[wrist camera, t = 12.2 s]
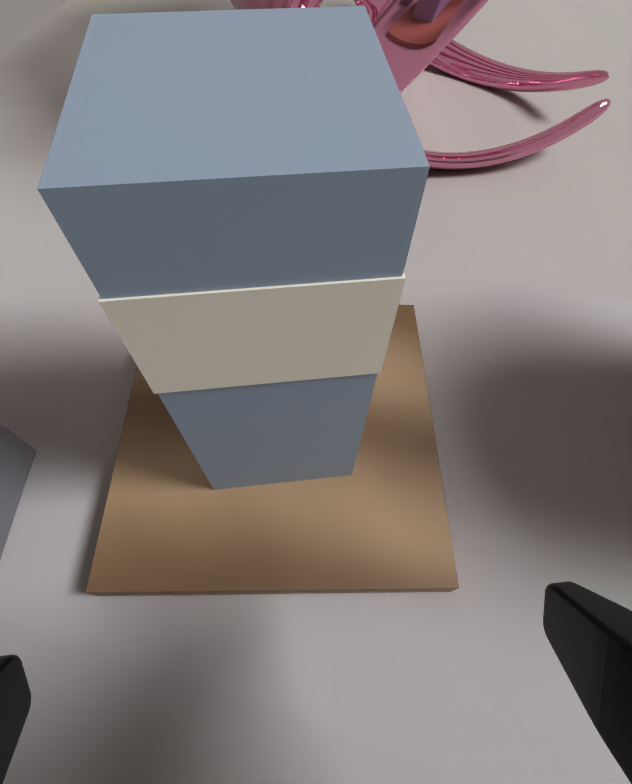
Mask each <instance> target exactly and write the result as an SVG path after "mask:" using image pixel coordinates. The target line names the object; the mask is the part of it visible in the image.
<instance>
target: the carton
mask: <svg viewBox="0 0 632 784" xmlns="http://www.w3.org/2000/svg"><path fill="white" fill-rule="evenodd" d="M429 168H430V165H429V163H428V160H427V158H426V155H425V153H424V150H423V148H422V145H421V143H420V140H419V138H418V136H417V133H416V131H415V128H414V126H413V123H412V121H411V118H410V116H409V113H408V111H407V108H406V106H405V104H404V101H403V99H402V96H401V94H400V91H399V89H398V86H397V84H396V81H395V79H394V76H393V74H392V72H391V69H390V67H389V64H388V62H387V59H386V57H385V54H384V52H383V49H382V47H381V44H380V42H379V39H378V37H377V35H376V32H375V30H374V27H373V25H372V22H371V20H370V17H369V15H368V12H367V10H366V7H365V6H343V7H310V8H277V9H244V10H211V11H177V12H144V13H111V14H92V15H91V18H90V22H89V25H88V28H87V31H86V34H85V38H84V41H83V44H82V47H81V51H80V54H79V57H78V60H77V63H76V67H75V70H74V73H73V76H72V79H71V83H70V86H69V89H68V92H67V96H66V99H65V102H64V105H63V108H62V112H61V115H60V118H59V121H58V125H57V128H56V131H55V134H54V137H53V141H52V144H51V147H50V150H49V154H48V157H47V160H46V163H45V166H44V170H43V173H42V176H41V179H40V182H39V186H38V191H39V192H40V194H41V196H42V197H43V199H44V201H45V203H46V204H47V206H48V208H49V209H50V211H51V213H52V215H53V216H54V218H55V220H56V221H57V223H58V225H59V226H60V228H61V230H62V232H63V233H64V235H65V237H66V238H67V240H68V242H69V243H70V245H71V247H72V249H73V250H74V252H75V254H76V255H77V257H78V259H79V261H80V262H81V264H82V266H83V267H84V269H85V271H86V272H87V274H88V276H89V278H90V279H91V281H92V283H93V284H94V286H95V288H96V289H97V291H98V293H99V295H100V297H99V303H100V305H101V306H102V308H103V310H104V311H105V313H106V315H107V316H108V318H109V320H110V321H111V323H112V325H113V326H114V328H115V330H116V331H117V333H118V335H119V336H120V338H121V340H122V341H123V343H124V345H125V346H126V348H127V350H128V351H129V353H130V355H131V356H132V358H133V360H134V361H135V363H136V365H137V366H138V368H139V370H140V371H141V373H142V375H143V376H144V378H145V380H146V381H147V383H148V385H149V386H150V388H151V390H152V391H153V393H154V394H158V395H159V397H160V399H161V400H162V402H163V404H164V405H165V407H166V409H167V410H168V412H169V414H170V416H171V417H172V419H173V421H174V422H175V424H176V426H177V427H178V429H179V431H180V433H181V434H182V436H183V438H184V439H185V441H186V443H187V445H188V446H189V448H190V450H191V451H192V453H193V455H194V456H195V458H196V460H197V462H198V463H199V465H200V467H201V468H202V470H203V472H204V473H205V475H206V477H207V479H208V480H209V482H210V484H211V485H212V487H213V489H214V490H219V489H228V488H237V487H246V486H255V485H265V484H274V483H283V482H292V481H301V480H311V479H320V478H329V477H338V476H348V475H352V472H353V468H354V464H355V460H356V456H357V453H358V449H359V445H360V441H361V437H362V433H363V429H364V425H365V421H366V417H367V413H368V409H369V405H370V401H371V397H372V393H373V389H374V385H375V381H376V378H377V374H378V373H381V370H382V366H383V362H384V358H385V354H386V351H387V347H388V343H389V339H390V336H391V332H392V328H393V324H394V320H395V317H396V313H397V309H398V305H399V301H400V298H401V294H402V290H403V286H404V282H405V279H406V278H405V275H404V267H405V263H406V259H407V255H408V251H409V247H410V243H411V239H412V235H413V231H414V227H415V224H416V220H417V216H418V212H419V208H420V204H421V200H422V196H423V192H424V188H425V184H426V180H427V176H428V172H429Z"/></svg>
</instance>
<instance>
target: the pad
mask: <svg viewBox="0 0 632 784" xmlns="http://www.w3.org/2000/svg"><path fill="white" fill-rule="evenodd" d="M458 588H459V584H458V578H457V572H456V566H455V560H454V553H453V547H452V541H451V535H450V529H449V522H448V516H447V510H446V504H445V498H444V491H443V485H442V479H441V473H440V466H439V460H438V454H437V448H436V442H435V435H434V429H433V423H432V417H431V411H430V404H429V398H428V392H427V386H426V380H425V373H424V367H423V361H422V355H421V349H420V342H419V336H418V330H417V324H416V318H415V311H414V305H398V309H397V313H396V317H395V320H394V324H393V328H392V332H391V336H390V339H389V343H388V347H387V351H386V354H385V358H384V362H383V366H382V370H381V373H378V374H377V378H376V381H375V385H374V389H373V393H372V397H371V401H370V405H369V409H368V413H367V417H366V421H365V425H364V429H363V433H362V437H361V441H360V445H359V449H358V453H357V456H356V460H355V464H354V468H353V472H352V475H348V476H338V477H329V478H320V479H311V480H301V481H292V482H283V483H274V484H265V485H255V486H246V487H237V488H228V489H219V490H214V489H213V487H212V485H211V484H210V482H209V480H208V479H207V477H206V475H205V473H204V472H203V470H202V468H201V467H200V465H199V463H198V462H197V460H196V458H195V456H194V455H193V453H192V451H191V450H190V448H189V446H188V445H187V443H186V441H185V439H184V438H183V436H182V434H181V433H180V431H179V429H178V427H177V426H176V424H175V422H174V421H173V419H172V417H171V416H170V414H169V412H168V410H167V409H166V407H165V405H164V404H163V402H162V400H161V399H160V397H159V395H158V394H154V393H153V391H152V390H151V388H150V386H149V385H148V383H147V381H146V380H145V378H144V376H143V375H142V373H141V371H140V370H139V368H138V366H137V370H136V374H135V378H134V383H133V387H132V391H131V396H130V400H129V405H128V409H127V413H126V418H125V422H124V426H123V431H122V435H121V440H120V444H119V448H118V453H117V457H116V462H115V466H114V470H113V475H112V479H111V483H110V488H109V492H108V497H107V501H106V505H105V510H104V514H103V518H102V523H101V527H100V532H99V536H98V540H97V545H96V549H95V553H94V558H93V562H92V567H91V571H90V575H89V580H88V584H87V589H86V593H90V594H94V595H98V596H116V595H200V594H284V593H368V592H451V591H453V590H455V589H458Z"/></svg>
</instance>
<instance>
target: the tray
mask: <svg viewBox="0 0 632 784" xmlns="http://www.w3.org/2000/svg"><path fill="white" fill-rule="evenodd" d="M35 451H36V450H34V449H33V448H31V447H30V446H29V445H27V444H26V443H25V442H23V441H22V440H20V439H19V438H18V437H16V436H15V435H14V434H12V433H11V432H10V431H8V430H7V429H5V428H4V427H3V426H1V425H0V558H1V555H2V552H3V549H4V545H5V542H6V539H7V536H8V533H9V530H10V527H11V524H12V521H13V518H14V515H15V512H16V509H17V506H18V503H19V500H20V497H21V494H22V491H23V488H24V485H25V482H26V479H27V476H28V472H29V469H30V466H31V463H32V460H33V457H34V454H35Z"/></svg>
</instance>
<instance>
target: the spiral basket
mask: <svg viewBox="0 0 632 784" xmlns="http://www.w3.org/2000/svg"><path fill="white" fill-rule="evenodd" d="M230 1H231V3H232V5H233V7H234V9H235V10H244V9H277V8H310V7H319V6H320V4H321V3H322V1H323V0H230ZM487 1H488V0H354V2H355V3H356V5H357V6H365V7H366V10H367V12H368V15H369V17H370V20H371V22H372V25H373V27H374V30H375V32H376V35H377V37H378V39H379V42H380V44H381V47H382V49H383V52H384V54H385V57H386V59H387V62H388V64H389V67H390V69H391V72H392V74H393V76H394V79H395V81H396V84H397V86H398V89H399V91H400V93H401V92H402V91H403V90H404V89H405V88H406V87H407V86H408V85H409V84H410V83H411V82H412V81H413V80H414V79H415V78H416V77H417V76H418V75H419V74H420V73H421V72H422V71H423V70H424V69H425V68H426V67H427V66H428V65H429V64H430V65H432V66H433V67H435V68H437V69H439V70H441V71H443V72H445V73H447V74H450V75H452V76H454V77H457V78H459V79H462V80H465V81H468V82H471V83H474V84H478V85H482V86H486V87H490V88H495V89H501V90H508V91H517V92H555V91H565V90H573V89H579V88H584V87H589V86H593V85H596V84H599V83H602V82H604V81H605V80H607V79H608V78H609V73H608V72H606V71H602V70H592V71H580V72H543V71H535V70H529V69H523V68H519V67H515V66H511V65H507V64H504V63H501V62H498V61H495V60H493V59H490V58H488V57H485V56H483V55H481V54H478V53H476V52H474V51H472V50H470V49H468V48H466V47H465V46H463V45H461V44H459V43H458V42H456V41H454V40H453V38H454V37H455V36H456V35H457V34H458V33H459V32H460V31H461V30H462V29H463V28H464V27H465V25H466V24H467V23H468V22H469V21H470V20H471V19H472V18H473V17H474V16H475V14H476V13H477V12H478V11H479V10H480V9H481V8H482V7H483V6H484V5H485V3H486V2H487ZM609 105H610V100H609V99H603V100H600V101H598V102H596V103H594V104H592V105H590V106H588V107H587V108H585V109H583V110H582V111H580V112H578V113H577V114H575V115H573V116H571V117H570V118H568V119H566V120H565V121H563V122H561V123H559V124H557V125H555V126H553V127H551V128H549V129H547V130H545V131H543V132H541V133H538V134H536V135H533V136H531V137H528V138H526V139H523V140H520V141H517V142H514V143H511V144H507V145H503V146H499V147H495V148H490V149H485V150H478V151H469V152H437V151H428V150H424V153H425V155H426V158H427V160H428V163H429V165H430V168H432V169H471V168H480V167H486V166H492V165H497V164H501V163H505V162H509V161H513V160H516V159H519V158H522V157H525V156H528V155H531V154H533V153H536V152H538V151H541V150H543V149H545V148H547V147H550V146H552V145H554V144H556V143H558V142H560V141H562V140H563V139H565V138H567V137H569V136H571V135H572V134H574V133H576V132H578V131H579V130H581V129H582V128H584V127H586V126H587V125H589V124H590V123H591V122H593V121H594V120H596V119H597V118H598V117H599V116H601V115H602V114H603V113H604V112H605V111H606V110H607V108H608V107H609Z"/></svg>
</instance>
